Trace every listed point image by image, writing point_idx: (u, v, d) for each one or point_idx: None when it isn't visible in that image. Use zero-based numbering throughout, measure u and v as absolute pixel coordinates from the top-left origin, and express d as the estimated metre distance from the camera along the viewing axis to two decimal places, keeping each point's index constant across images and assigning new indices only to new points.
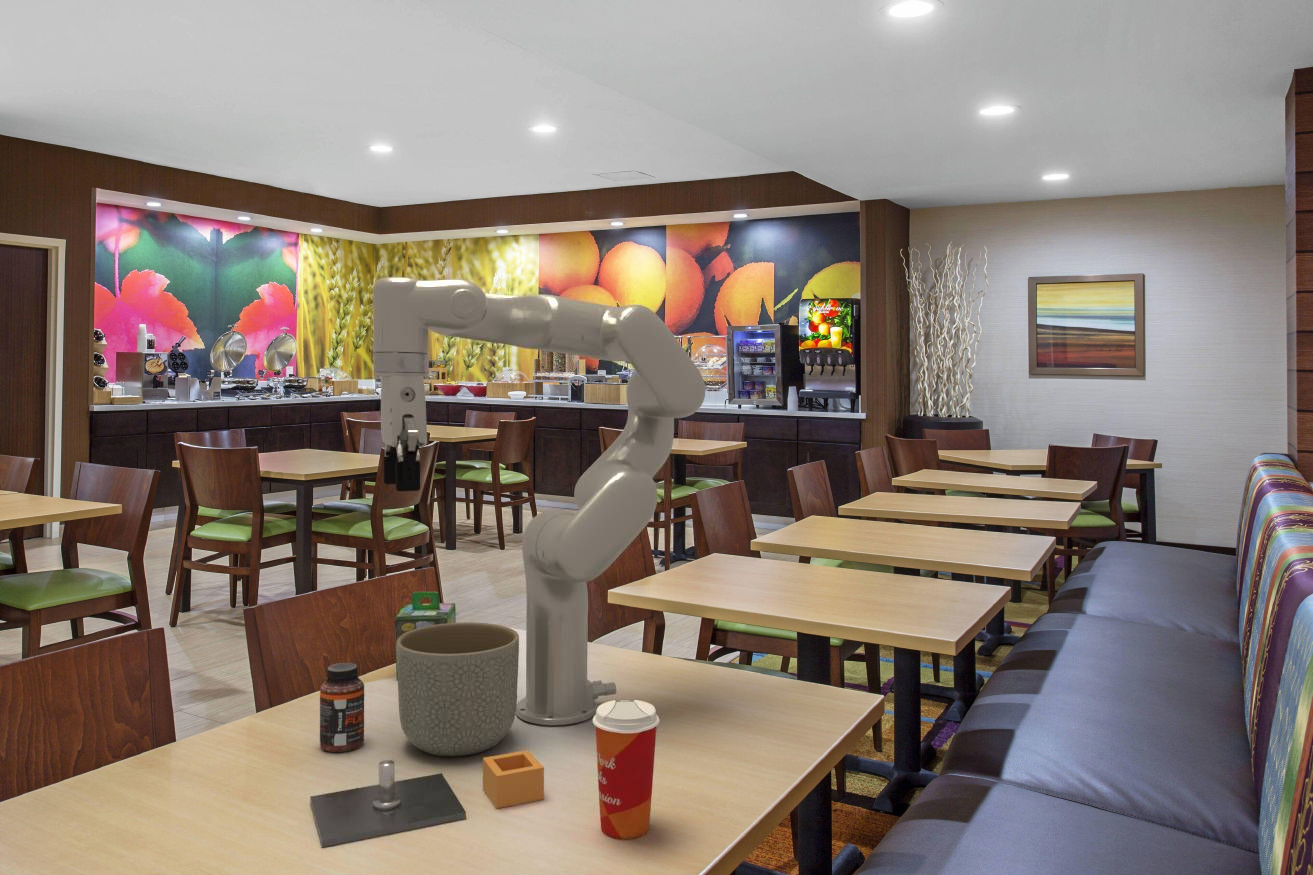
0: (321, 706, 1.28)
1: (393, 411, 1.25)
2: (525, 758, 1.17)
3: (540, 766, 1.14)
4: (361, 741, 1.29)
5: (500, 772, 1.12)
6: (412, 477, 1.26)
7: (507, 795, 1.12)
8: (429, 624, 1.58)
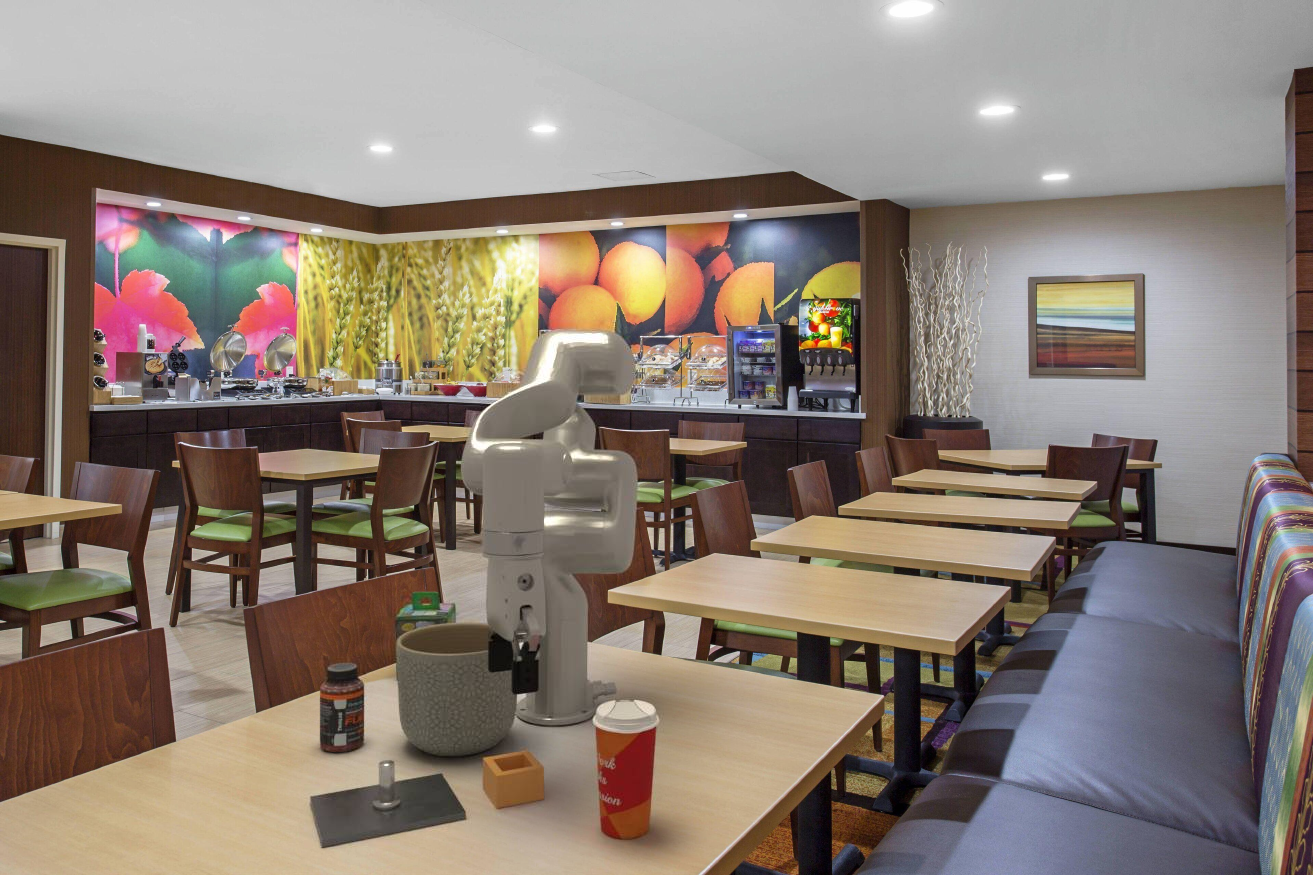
0: (321, 706, 1.28)
1: (509, 602, 1.08)
2: (525, 758, 1.17)
3: (540, 766, 1.14)
4: (361, 741, 1.29)
5: (500, 772, 1.12)
6: (531, 678, 1.09)
7: (507, 795, 1.12)
8: (429, 624, 1.58)
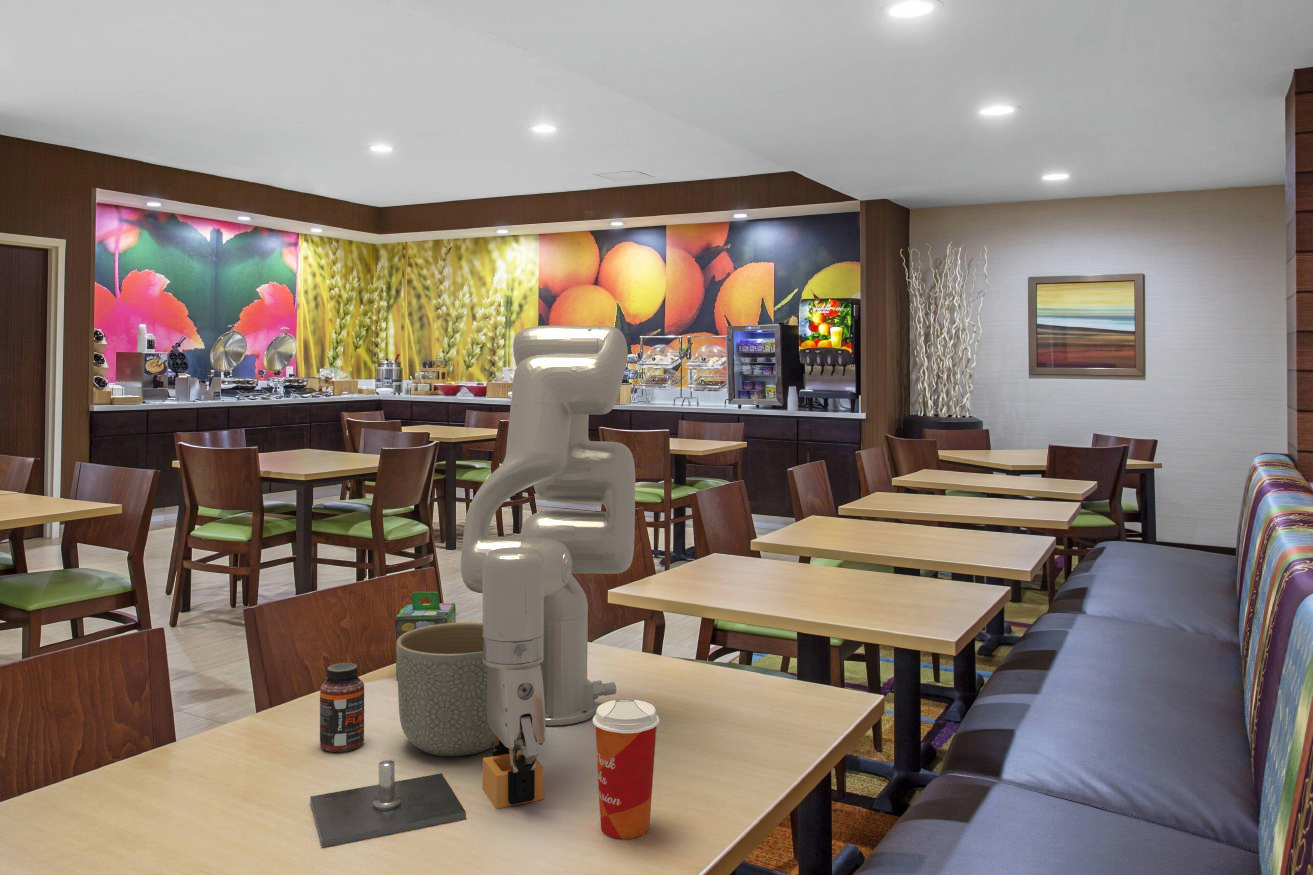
0: (321, 706, 1.28)
1: (509, 711, 1.09)
2: None
3: (540, 766, 1.14)
4: (361, 741, 1.29)
5: (500, 772, 1.12)
6: (527, 788, 1.11)
7: (507, 795, 1.12)
8: (429, 624, 1.58)
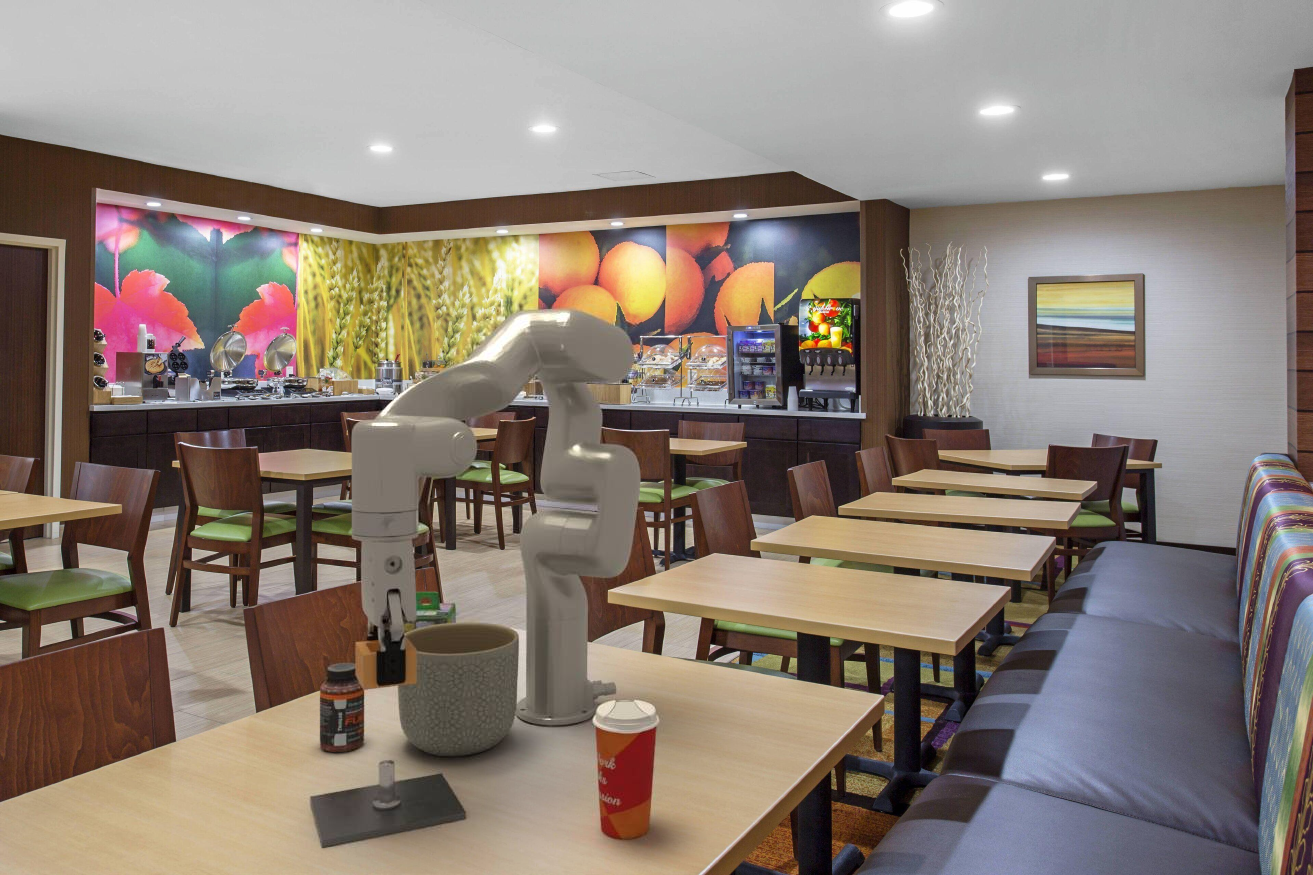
0: (321, 706, 1.28)
1: (375, 586, 1.04)
2: None
3: (413, 648, 1.08)
4: (361, 741, 1.29)
5: (368, 652, 1.06)
6: (396, 669, 1.05)
7: (376, 677, 1.06)
8: (429, 624, 1.58)
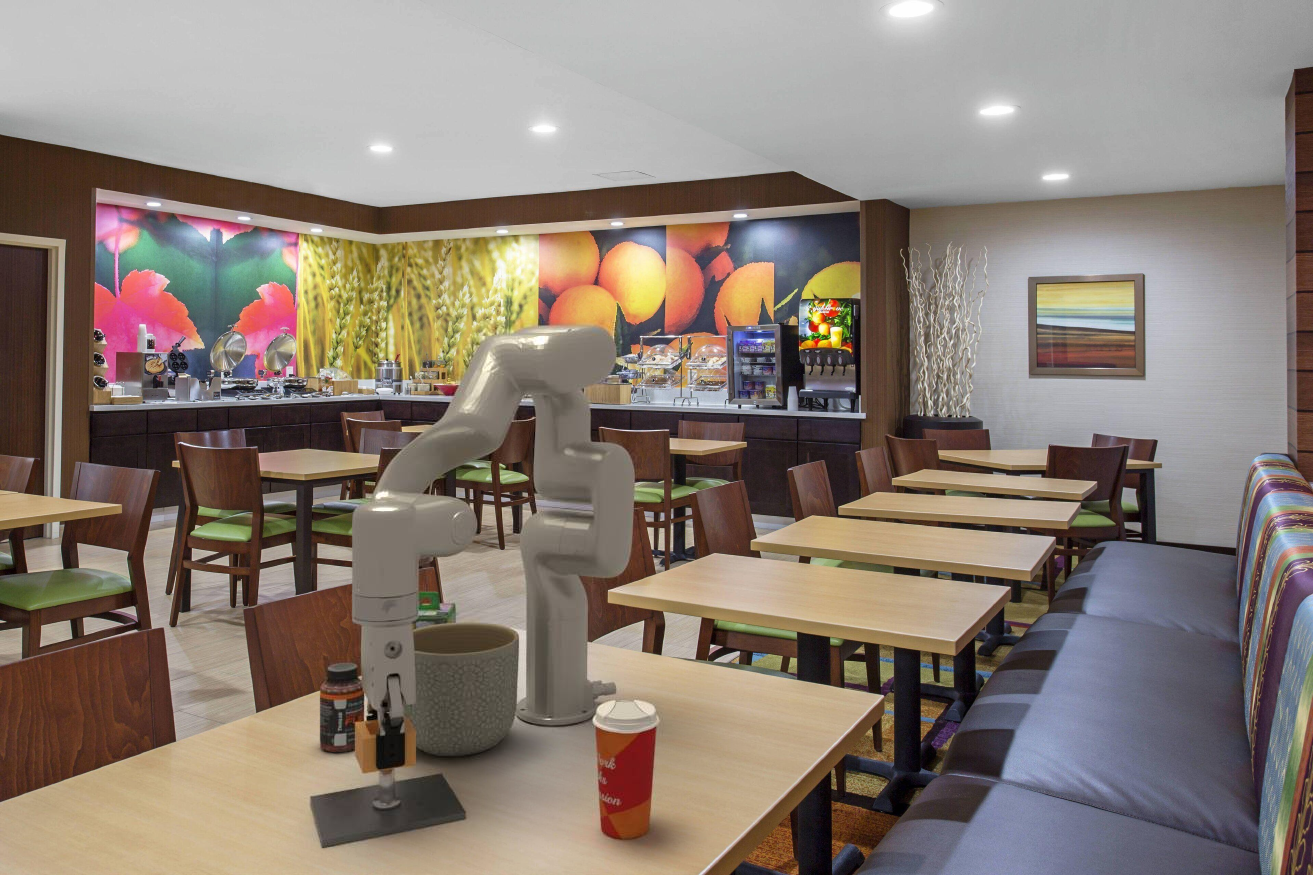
0: (321, 706, 1.28)
1: (375, 671, 1.04)
2: None
3: (412, 730, 1.08)
4: None
5: (368, 736, 1.06)
6: (395, 752, 1.06)
7: (375, 760, 1.06)
8: (429, 624, 1.58)
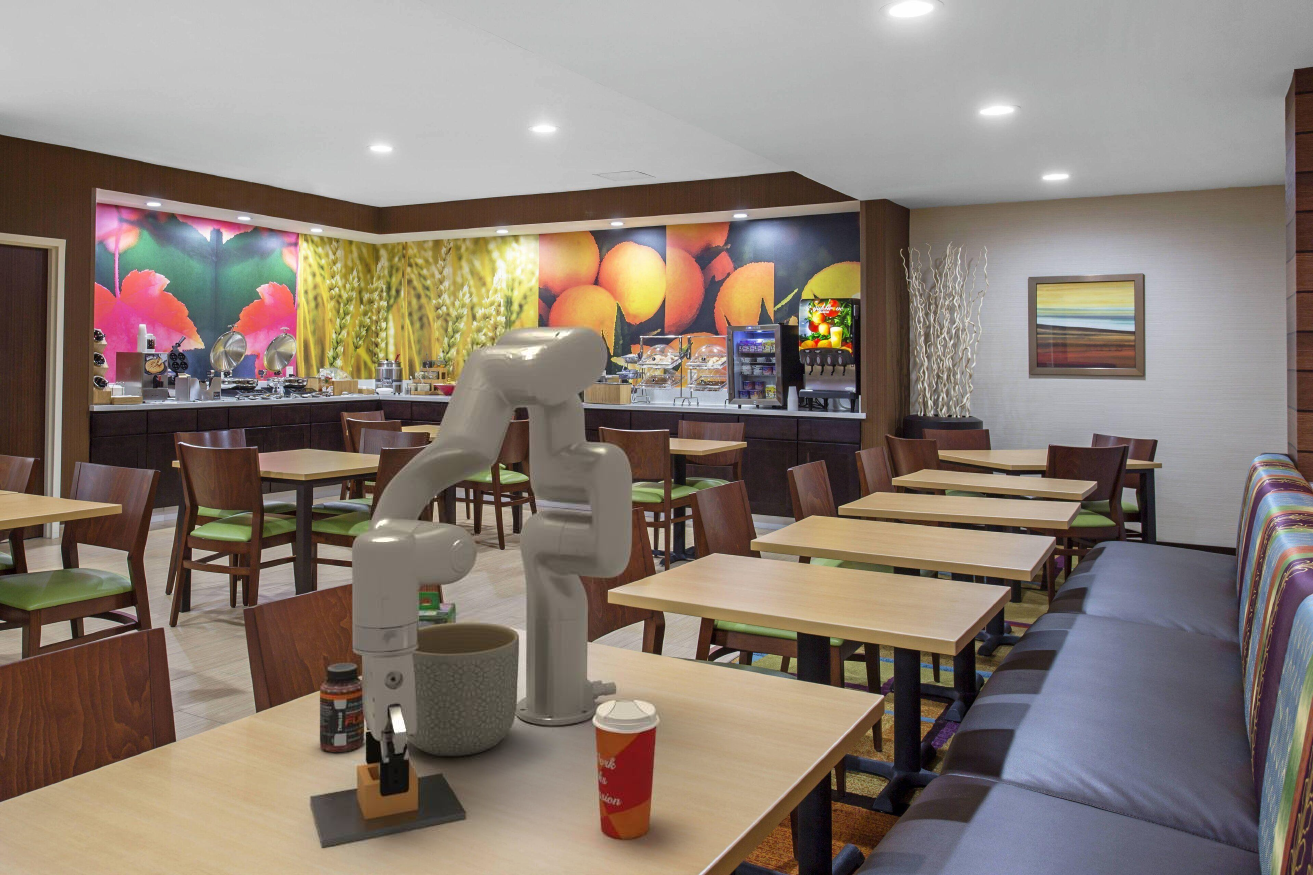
0: (321, 706, 1.28)
1: (376, 701, 1.04)
2: None
3: (414, 774, 1.09)
4: (361, 741, 1.29)
5: (370, 781, 1.07)
6: (399, 779, 1.05)
7: (377, 805, 1.07)
8: (429, 624, 1.58)
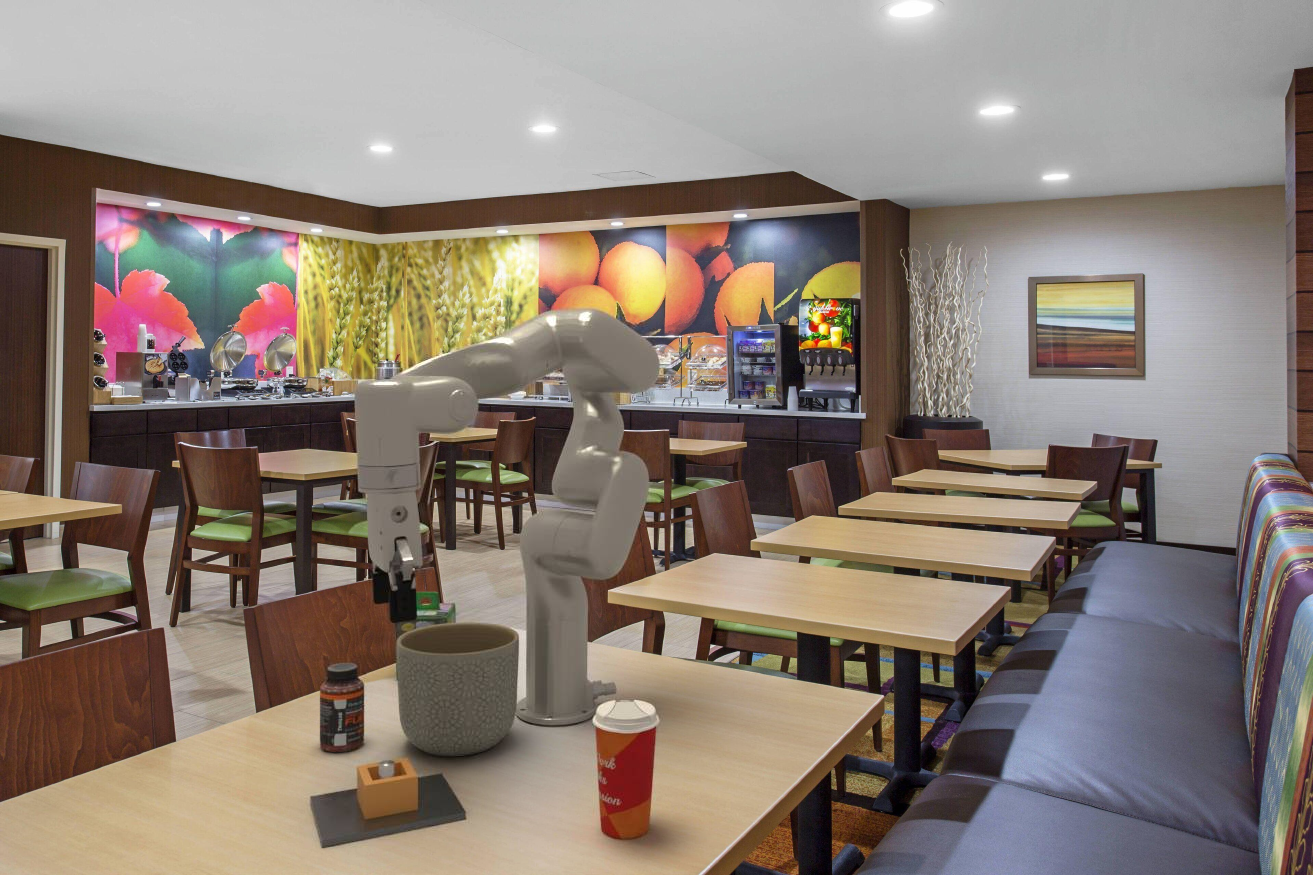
0: (321, 706, 1.28)
1: (383, 534, 1.11)
2: (402, 766, 1.12)
3: (414, 774, 1.09)
4: (361, 741, 1.29)
5: (370, 781, 1.07)
6: (408, 606, 1.12)
7: (377, 805, 1.07)
8: (429, 624, 1.58)
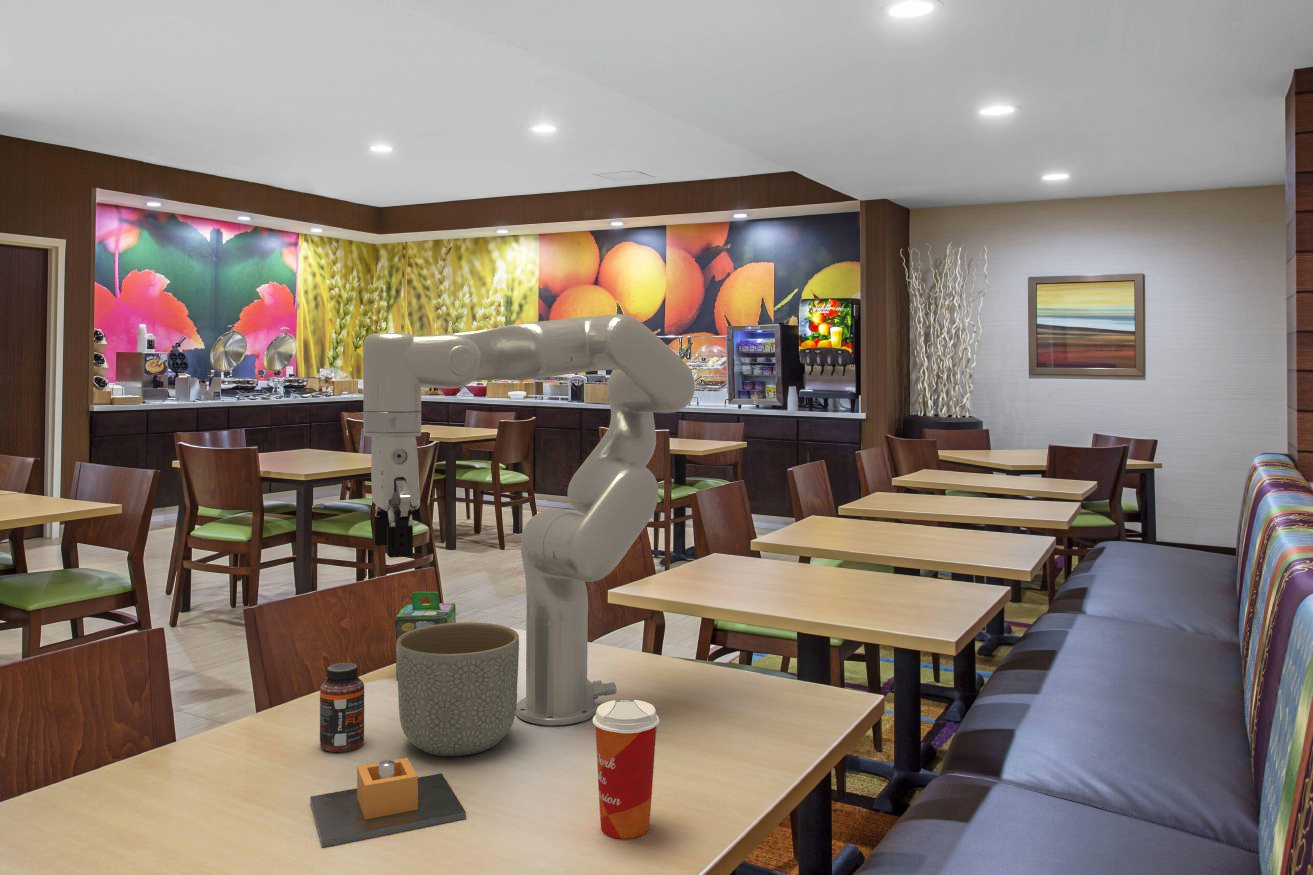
0: (321, 706, 1.28)
1: (384, 474, 1.20)
2: (402, 766, 1.12)
3: (414, 774, 1.09)
4: (361, 741, 1.29)
5: (370, 781, 1.07)
6: (404, 543, 1.20)
7: (377, 805, 1.07)
8: (429, 624, 1.58)
